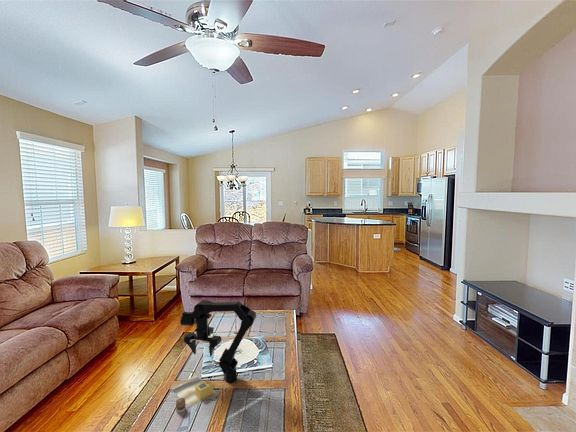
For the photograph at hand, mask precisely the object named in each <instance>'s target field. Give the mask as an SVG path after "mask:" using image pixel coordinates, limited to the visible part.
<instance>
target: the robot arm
mask: <svg viewBox="0 0 576 432" xmlns="http://www.w3.org/2000/svg"><path fill="white" fill-rule="evenodd" d="M216 312H217V313H218V312H219V313H221V312H234V313H235V314H236V316H237V317H238V319H239V320H240V321H241V322H240V327H239V330H238V331H237V333H236V335H235V336H234V339H233V341H232V343H231V344H230V346H229V348H224V351H223V352H222V354H221V356H220V358H219V359H218V365H219V367H220V368H221V371H222V374H224V375H223V376H224V382H226V383H229V384H233V383H235V382H237V377H238V376H237V375H238V374H237V366H238V363H239V361H238V360H237V359H236V358H235V356H236V352H237V349H238V348H239V346H240V344H241V343H242V340H243V338H244V336H245V334H246V333H247V331H249V329H250V328H251V327H252V326H253V324H254V323H255V320H256V318H257V313H256V312H255V311H254V310H252V309H251V308H249V307H248V306H247V305H245V304H243V303H242V302H241V301H222V302H213V301H211V300H206V299H202V300H199V301H198V302H197V303H196V304H195V306H194V307H193V311H190V312H189V311H188V312H187V311H183V312H182V313H181V317H180V322H179V323H180V326H187V327H193V326H195V329H194V332H189V333H187V334H186V335H184V337H183V343H184V344H186V345H187V346H188V347H189V348H190V350H191V351H192V354H194V355H196V354H197V341H200V342H208V344H209V345H208V351H209V356H210V357H212V356H213V355H214V350H215V347H217V346H218V345H219V344H220V343H221V342H222V336H220V335H213V334H214V328H215V327H214V326H213V327H212V326H210V325H209V324H208V321H209V320H208V319H210V318H211V317H212V314H211V313H216ZM195 332H196V333H195ZM211 335H213V336H212V337H210V336H211Z"/></svg>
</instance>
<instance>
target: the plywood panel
mask: <svg viewBox="0 0 576 432" xmlns="http://www.w3.org/2000/svg"><path fill="white" fill-rule="evenodd" d="M203 382H204V381H203V379H200V378H199V377H198V376H197V375H193V376H191V377H189V378H187V379H185V380H183V381H180V382H178V383H176V384H174V385H172V386H170V387H169V388H170V389H171V391H172V392H174V393H175V395H177V396H178V397H179V398H184V399H185V405H186V406H187V407H189V408H191V407H194V406H195V405H197V404H200V403H201V402H203V401H204V400H207V399H209V398H211V397H212V396H215V395H216V394H217V392H216V391H215V390H214V393H212V394H210V395H209V396H207V397H205V398H203V399H201V400H200V399H199V398H198V397H197V396H196V393H195V386H197V385H199V384H201V383H203Z"/></svg>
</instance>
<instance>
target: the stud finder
mask: <svg viewBox="0 0 576 432" xmlns="http://www.w3.org/2000/svg"><path fill="white" fill-rule="evenodd" d="M214 388H215V387H214V382H212V381H211V380H210V379H208V380H205V381H203V383H201V384H199V385H197V386H195V393H196V396H197V397H198V398H199V399H200V400H201V399H203V398H205V397H207V396H209V395H210V394H212V393H214V391H215V390H214Z"/></svg>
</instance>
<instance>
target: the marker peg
mask: <svg viewBox="0 0 576 432" xmlns="http://www.w3.org/2000/svg"><path fill="white" fill-rule="evenodd" d="M175 406H176V407H175V410H176V411H175V412H176V413H178V414H181V413H184V412H185V411H186V403H185V399H184V398H180V397H179V398H177V399H176V401H175Z"/></svg>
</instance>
